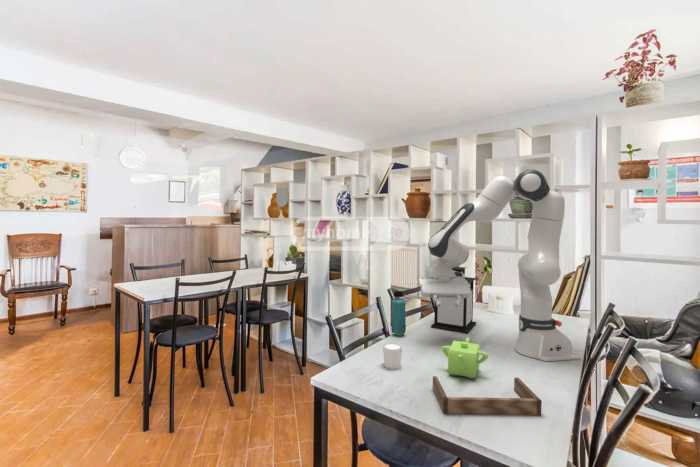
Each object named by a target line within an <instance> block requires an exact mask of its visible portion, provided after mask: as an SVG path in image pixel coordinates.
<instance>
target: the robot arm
mask: <svg viewBox="0 0 700 467" xmlns="http://www.w3.org/2000/svg"><path fill="white" fill-rule="evenodd" d="M514 198H515V199H518V200H522V201H527V202H528V201H530V202H531V204H532V213H531V218H530V223H529V228H528V234H527V243H528V249H527V250H528V252H527V253H526V254H523V255H522V256H520V258H519V259H518V261H517V269H518V278H519V290H520V313H519V316H518V329H519V330H518V334H517V335H518V336H517V339H516V340H517V341H516V344H515V347H514V350H515V351H516V352H517V353H518V354H521V355H523V356H526V357H528V358H529V357H530V358H533V359H534V358H535V359H538V360H540V361H544V362H557V361H558V362H559V361H569V360H570V361H572V360H580V354H579V352H577V351H575V350H574V349H573V343H572V341H571V339H570V338H569V337H568V336H567V335H565V334H564V333H563V332H562V331H561V330H559V329H558V328H557V327H559V328H560V327H561V326H562V321H560V320H556V319H554V318H553V297H552V293H551V289H550V285H553V284H555V283H557V282H558V281H559V279H560V278H561V275H562V274H561V272H562V271H561V268H560V240H561V236H562V235H561V234H562V229H563V222H564V219H565V210H566V209H565V208H566V207H565V206H566V205H565V197H564V196H563V194H561V193H560V192H558V191H554V190H551V188H550V185H549V184H548V181H547V179H546V177H545V175H544V174H543V172H541V171H539V170H536V169H526V170H523V171H521V172H520V173H519V174H518V175H517V177H516V178H510V177H507V176H505V175H498V176H495V177H494V178H493V179H492V180H490V182H489V183H488V184H486V186H485V187H484V188H483V190H482V191H481V192H480V194H479V195H478V196H477V197H476V198H475V199H474V200H473V201H471V202H469V203H465V204H463V206H461V207H460V208H459V209H458V210H457V211H456V212H455V213H454V215H453V216H451V217H450V219H449V220H448V221H447V222H446V223H444V225H443V226H442V227H441V228H440V229H439V230H438V231H436V233H435V234H433V235H432V236H431V237H430V238H429V240H428V243H427V244H428V245H427V246H428V251H429V254H428V255H429V256H428V257H429V259H428V260H429V266H430V268H431V271H430V272H431V276H427V277H426V276H422V277H420V278H419V280H418V284H419V285H420V295H421V297H422V298H430V299H431V298H432V301H433V302H434V304H435V303H436V305H437V306H441V301H438V299H437V298H456V300H457V301H455V303H454V304H455V307H459V300H460V298H469V296H470V294H471V290H470V284H468V282H467V280H466V279H464V278H465V277H466V274H464V273H461V272H457V271H454V270H452V268H455V267H458V266H459V265H460V266H461V265H463V264H465V263H466V262H467V260H468V258H469V255H470V252H469V248H468V246H467V245H465V244H464V243H462V242H460V241H458V240H456V239H454V238H453V237H454V235H455V234H456V233H457V232H458V231H459V230H460V229H461V228H462V227H463V226H464V225H465V224H466V223H468V222H474V221H475V222H476V221H477V222H491V221H493V220H496V218H498V217H499V215H500V214H501V213H502V212H503V210H504V209H505V208H506V207H507V205H508V203H509V202H510V201H511V200H512V199H514ZM460 266H459V267H460Z"/></svg>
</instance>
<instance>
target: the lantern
mask: <svg viewBox="0 0 700 467" xmlns="http://www.w3.org/2000/svg"><path fill="white" fill-rule="evenodd" d="M466 269H467V267H466V266H465V267H464V266H461V265H459V266H457V267H455V268H452V270H454V271H457V272H461V273H464V274H465V273H466ZM465 275H466V274H465ZM464 279H466V280H467V282H468V284H469V286H470V290H471V294H470V296H469V298H460V300H459V307H455V304H454V303H455V301H457V300H456V298H437V299H438V301H441V306H437V305H436V303H435V302H434V318H433V319H434V320H433V322H434V323H432V324H431V326H430V328H431V329H437V330H443V331H448V332H455V333H459V334H465V335H468V334H469V333H470V332H471V331H472V330H473V328H475V326H476V324H477V322H476V321H474V320H473V319H474V318H473V313H474V310H473V309H474V307H473V306H474V284H475V283H474V281H475V280H477V279H478V277H468V276H465V278H464Z"/></svg>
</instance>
